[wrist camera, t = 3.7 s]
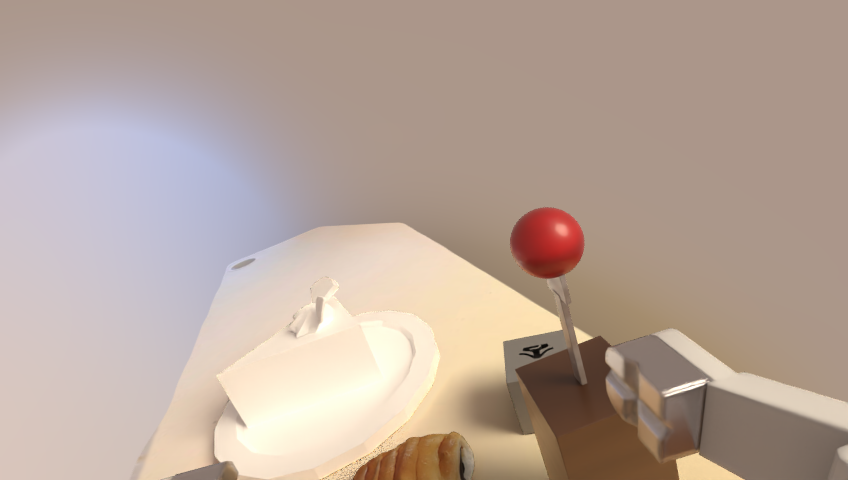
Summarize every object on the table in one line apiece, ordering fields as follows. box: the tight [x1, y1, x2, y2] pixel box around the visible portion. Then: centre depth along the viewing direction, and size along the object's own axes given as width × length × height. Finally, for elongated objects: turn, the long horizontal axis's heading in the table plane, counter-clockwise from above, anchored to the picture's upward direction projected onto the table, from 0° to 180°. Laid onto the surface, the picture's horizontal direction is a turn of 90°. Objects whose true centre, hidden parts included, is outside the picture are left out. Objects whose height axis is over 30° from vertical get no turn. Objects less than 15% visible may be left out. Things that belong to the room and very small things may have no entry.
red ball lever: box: [510, 207, 679, 480], centre depth 20 cm, size 5×5×20 cm
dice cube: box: [503, 330, 567, 434], centre depth 32 cm, size 5×5×5 cm
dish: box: [214, 277, 440, 480], centre depth 44 cm, size 25×25×11 cm
